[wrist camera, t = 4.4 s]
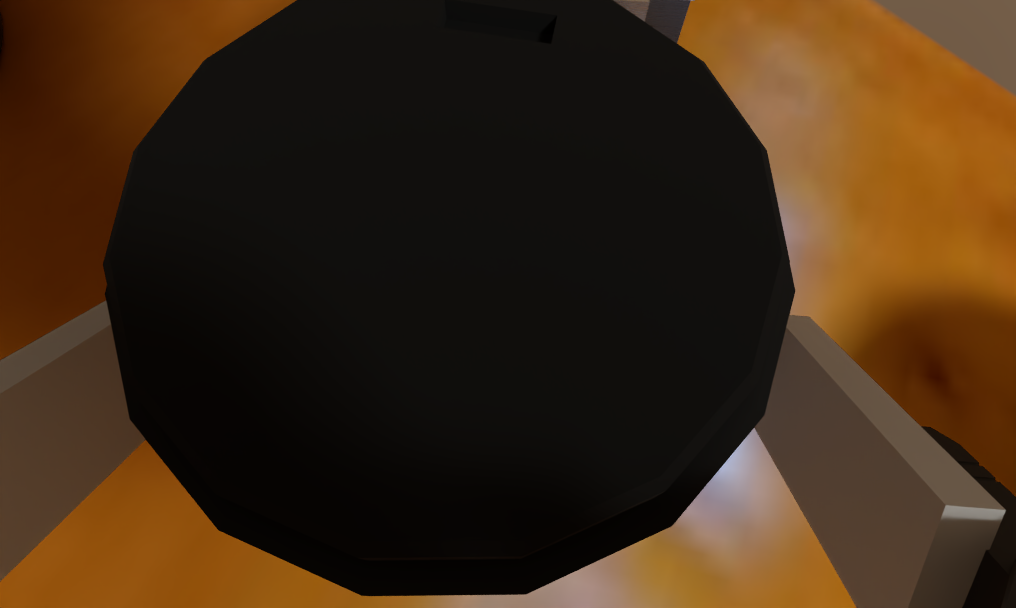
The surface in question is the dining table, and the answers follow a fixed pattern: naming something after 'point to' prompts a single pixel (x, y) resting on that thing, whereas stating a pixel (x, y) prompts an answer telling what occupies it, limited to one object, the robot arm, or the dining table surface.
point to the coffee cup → (448, 288)
